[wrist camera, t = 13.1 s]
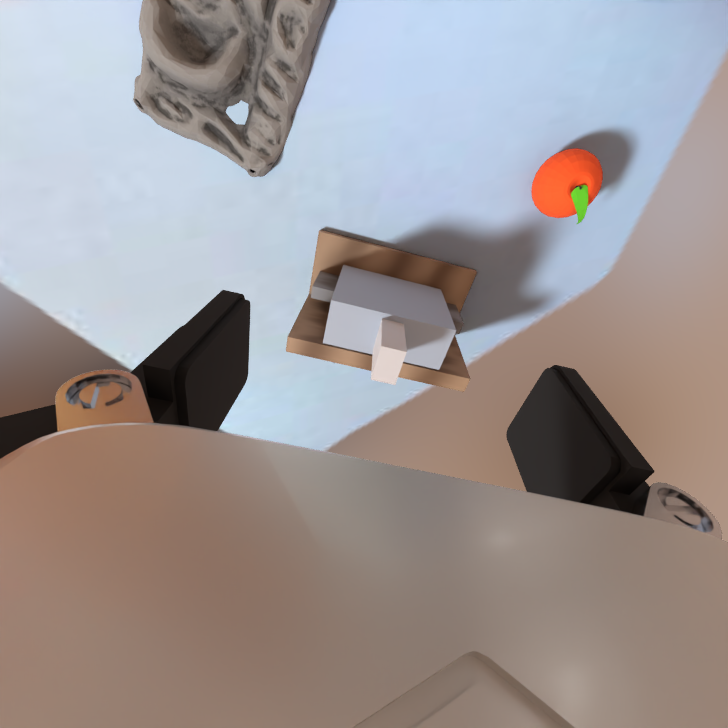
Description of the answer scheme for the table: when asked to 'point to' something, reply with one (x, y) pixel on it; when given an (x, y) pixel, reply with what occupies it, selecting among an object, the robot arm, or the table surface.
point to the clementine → (567, 183)
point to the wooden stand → (390, 263)
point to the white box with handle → (389, 321)
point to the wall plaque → (227, 71)
